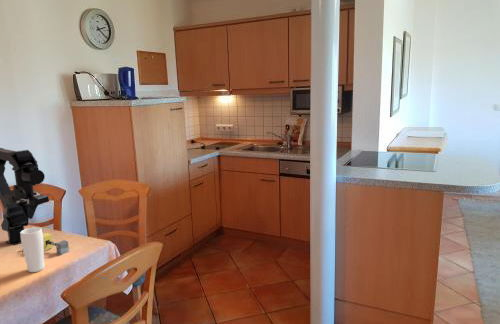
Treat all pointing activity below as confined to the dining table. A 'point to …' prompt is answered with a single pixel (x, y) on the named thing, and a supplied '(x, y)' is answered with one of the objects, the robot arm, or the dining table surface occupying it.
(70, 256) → the dining table surface
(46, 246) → the sleeve
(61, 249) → the cord fixture
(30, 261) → the drinking glass
